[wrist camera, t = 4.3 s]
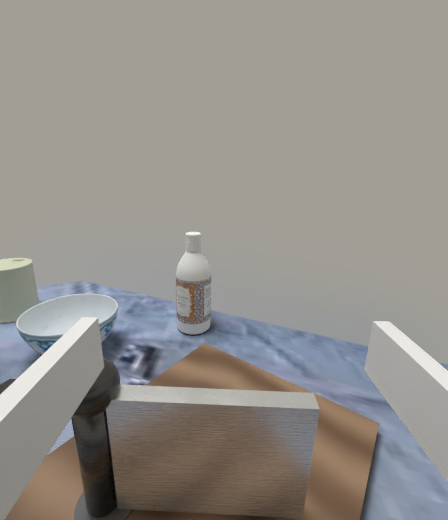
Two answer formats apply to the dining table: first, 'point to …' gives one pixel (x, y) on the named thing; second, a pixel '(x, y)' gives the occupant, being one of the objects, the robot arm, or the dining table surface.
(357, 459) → the brown wooden cutting board
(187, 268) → the bath foam
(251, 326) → the dining table surface
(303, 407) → the panel with knobbed post
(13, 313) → the can
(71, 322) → the chinaware
